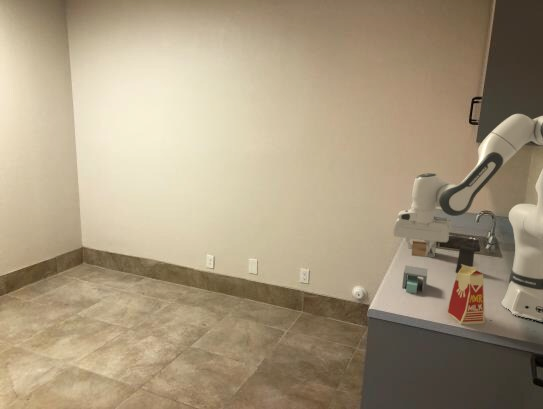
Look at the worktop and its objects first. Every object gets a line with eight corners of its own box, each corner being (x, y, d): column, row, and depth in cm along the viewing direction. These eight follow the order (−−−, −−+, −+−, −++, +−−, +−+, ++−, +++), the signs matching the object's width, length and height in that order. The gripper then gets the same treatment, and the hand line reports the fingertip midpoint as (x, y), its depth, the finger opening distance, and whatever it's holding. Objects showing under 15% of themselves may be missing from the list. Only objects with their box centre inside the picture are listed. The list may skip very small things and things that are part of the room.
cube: (411, 252, 158) (412, 240, 157) (425, 253, 156) (426, 241, 155) (411, 255, 153) (412, 243, 152) (425, 257, 151) (426, 244, 151)
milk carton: (484, 323, 136) (493, 268, 132) (461, 325, 134) (469, 270, 130) (466, 310, 145) (474, 259, 141) (444, 312, 143) (451, 260, 139)
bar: (407, 276, 176) (408, 268, 175) (416, 278, 175) (417, 269, 174) (405, 292, 159) (406, 283, 159) (416, 294, 158) (417, 285, 157)
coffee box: (422, 250, 212) (425, 221, 208) (434, 252, 210) (438, 223, 206) (421, 255, 203) (425, 225, 200) (434, 257, 201) (438, 227, 198)
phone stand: (469, 275, 179) (473, 250, 176) (455, 272, 182) (458, 247, 180) (472, 269, 186) (476, 245, 184) (458, 266, 190) (462, 243, 187)
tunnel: (403, 280, 171) (405, 265, 170) (425, 283, 168) (427, 268, 166) (402, 287, 163) (403, 272, 162) (425, 292, 160) (427, 276, 158)
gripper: (451, 216, 150) (447, 251, 153) (395, 211, 158) (392, 244, 161) (452, 220, 144) (448, 256, 147) (394, 214, 152) (391, 248, 155)
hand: (418, 249), depth 154 cm, fingers closed on cube, 5 cm apart
